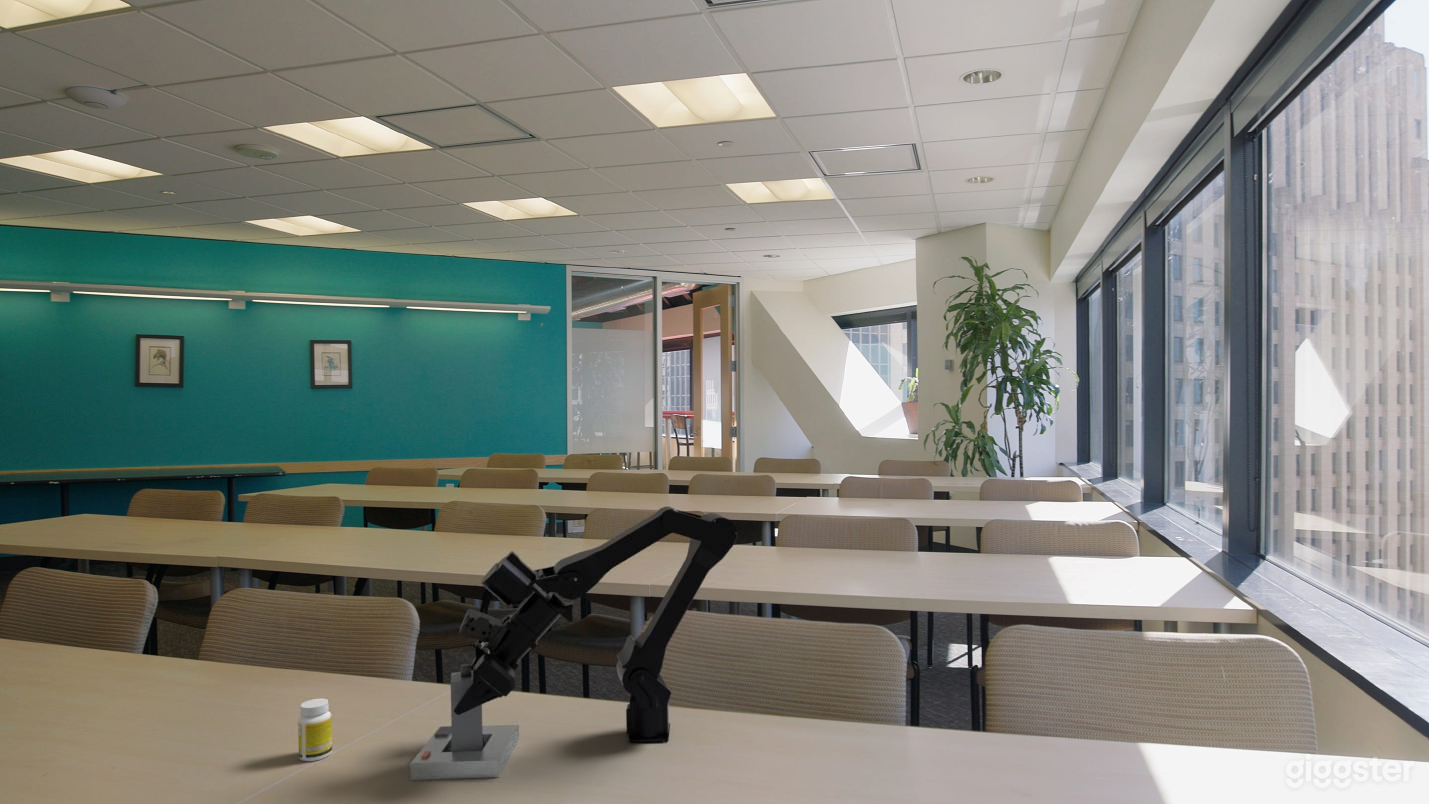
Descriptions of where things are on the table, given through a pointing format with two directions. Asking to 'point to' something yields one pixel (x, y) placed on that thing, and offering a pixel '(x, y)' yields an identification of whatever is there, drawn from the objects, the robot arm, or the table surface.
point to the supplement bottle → (314, 730)
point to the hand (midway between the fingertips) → (457, 701)
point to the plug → (465, 715)
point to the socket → (465, 755)
